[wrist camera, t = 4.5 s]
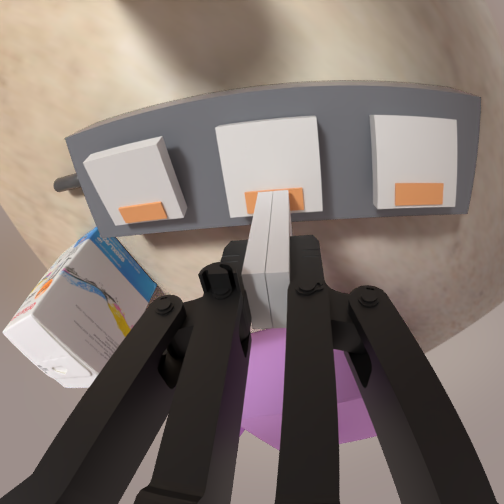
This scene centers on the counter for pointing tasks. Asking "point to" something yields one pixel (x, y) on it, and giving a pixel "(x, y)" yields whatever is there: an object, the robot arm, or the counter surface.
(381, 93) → the power strip
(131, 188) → the rocker
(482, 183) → the counter surface
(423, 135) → the rocker
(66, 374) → the ink box
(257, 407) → the teapot
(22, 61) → the counter surface
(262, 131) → the rocker
